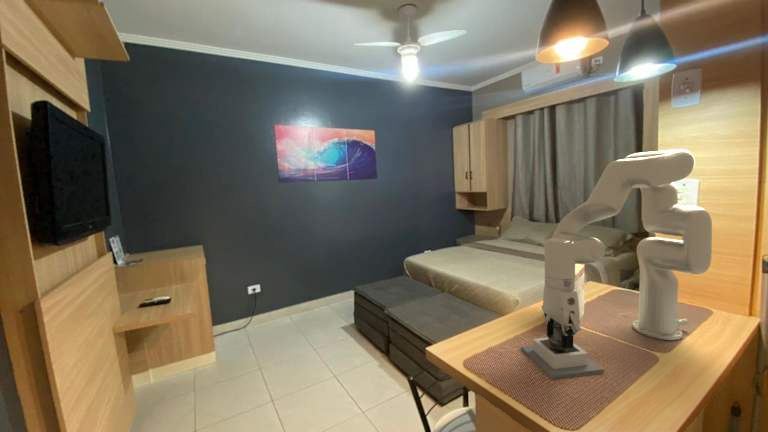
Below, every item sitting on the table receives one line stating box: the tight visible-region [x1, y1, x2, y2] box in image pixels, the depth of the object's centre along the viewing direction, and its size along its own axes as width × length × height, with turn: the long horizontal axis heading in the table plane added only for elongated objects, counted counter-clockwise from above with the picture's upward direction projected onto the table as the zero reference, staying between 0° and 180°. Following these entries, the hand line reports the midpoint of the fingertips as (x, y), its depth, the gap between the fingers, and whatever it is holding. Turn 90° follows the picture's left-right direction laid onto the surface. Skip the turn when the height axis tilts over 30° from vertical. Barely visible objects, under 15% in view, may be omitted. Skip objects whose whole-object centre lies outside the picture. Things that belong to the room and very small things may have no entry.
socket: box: [520, 336, 604, 380], centre depth 91 cm, size 15×15×4 cm
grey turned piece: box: [547, 320, 570, 354], centre depth 90 cm, size 6×6×12 cm
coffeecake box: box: [567, 263, 586, 323], centre depth 116 cm, size 15×7×20 cm, turn 136°
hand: (559, 341), depth 90 cm, fingers closed on grey turned piece, 5 cm apart
